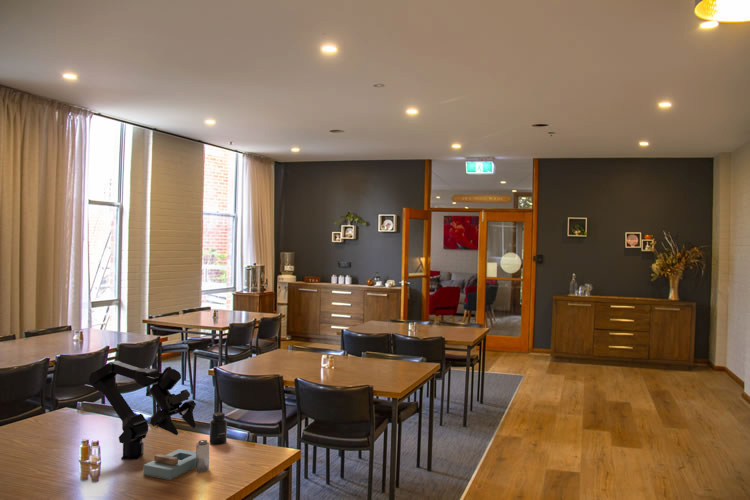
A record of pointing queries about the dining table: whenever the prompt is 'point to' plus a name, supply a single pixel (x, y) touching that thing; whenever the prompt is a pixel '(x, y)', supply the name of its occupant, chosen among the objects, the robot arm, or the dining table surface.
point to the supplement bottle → (218, 429)
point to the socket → (172, 471)
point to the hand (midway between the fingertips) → (186, 430)
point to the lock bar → (166, 459)
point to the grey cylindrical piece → (202, 456)
